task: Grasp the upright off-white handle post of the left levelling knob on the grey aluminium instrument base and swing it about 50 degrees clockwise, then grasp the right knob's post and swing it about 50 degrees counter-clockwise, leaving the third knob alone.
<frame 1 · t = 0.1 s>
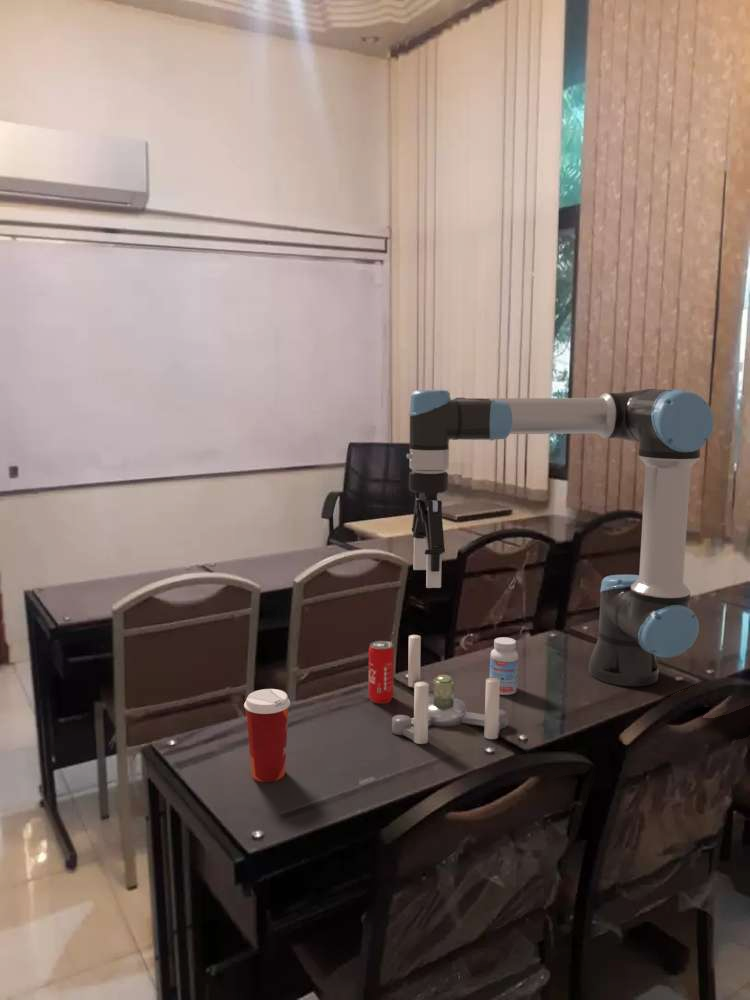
hand: (426, 578, 154), 28 cm above the table, fingers open, 13 cm apart
knob 2: (495, 702, 150), point 6 cm above the table, hinge at 0.0°
knob near arm: (423, 665, 168), point 6 cm above the table, hinge at 0.0°
levelling base: (443, 716, 157), on the table
pill bottle: (503, 691, 170), on the table
beverage can: (380, 700, 165), on the table
paper cup: (268, 775, 134), on the table
knob 1: (410, 707, 147), point 6 cm above the table, hinge at 0.0°
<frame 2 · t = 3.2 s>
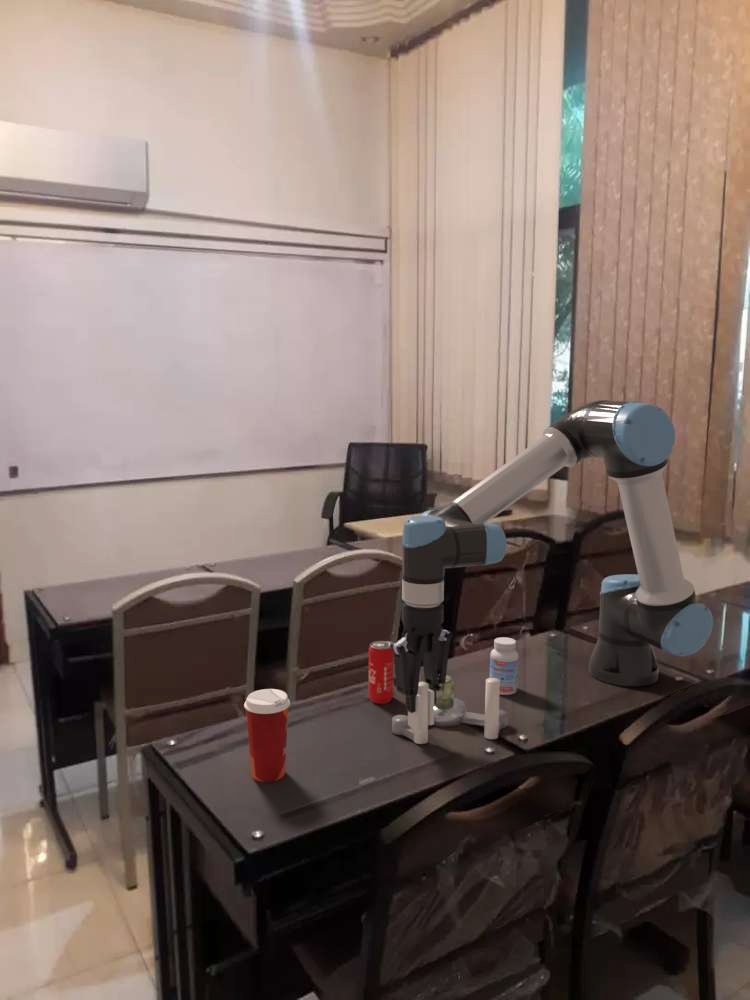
hand: (420, 724, 145), 4 cm above the table, fingers closed on knob 1, 3 cm apart
knob 1: (410, 707, 147), point 6 cm above the table, hinge at -0.1°, touching gripper
everything else where it was.
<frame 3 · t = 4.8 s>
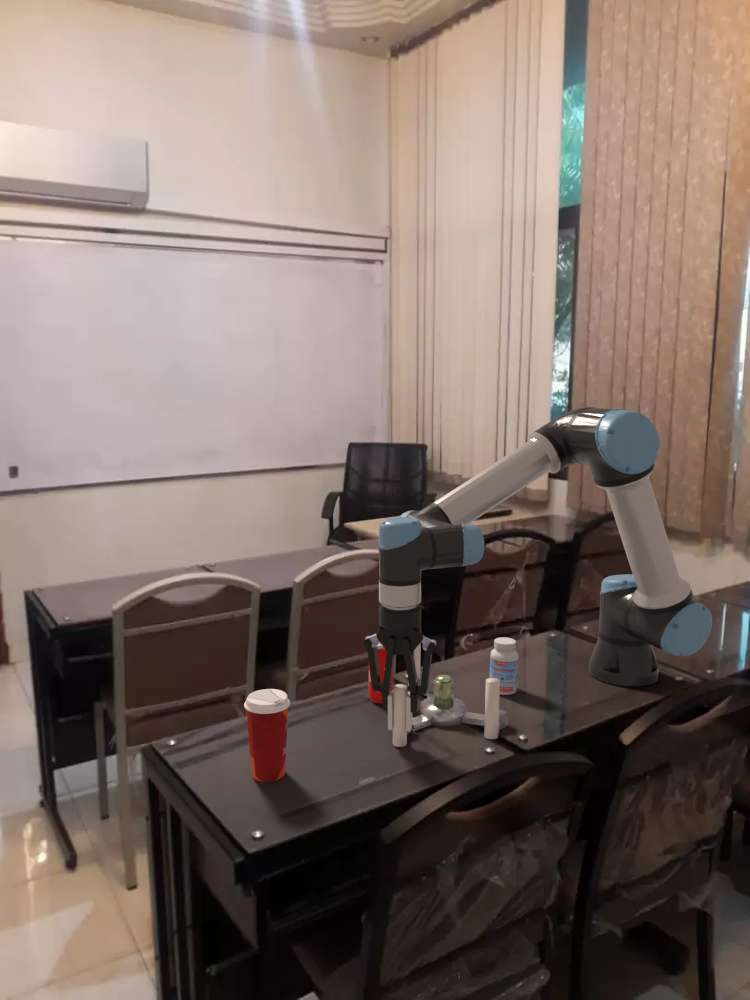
hand: (400, 727, 144), 3 cm above the table, fingers closed on knob 1, 3 cm apart
knob 1: (400, 708, 147), point 6 cm above the table, hinge at -43.7°, touching gripper
everything else where it was.
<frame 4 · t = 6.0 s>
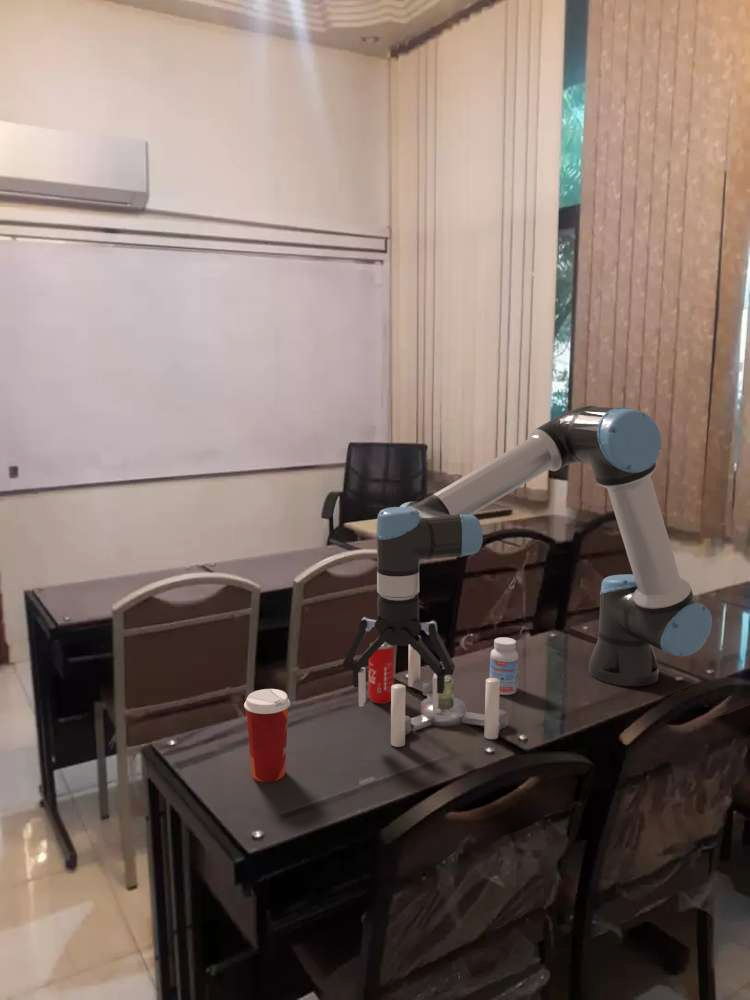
hand: (398, 706, 144), 7 cm above the table, fingers open, 13 cm apart
knob 1: (400, 708, 147), point 6 cm above the table, hinge at -47.4°
everything else where it was.
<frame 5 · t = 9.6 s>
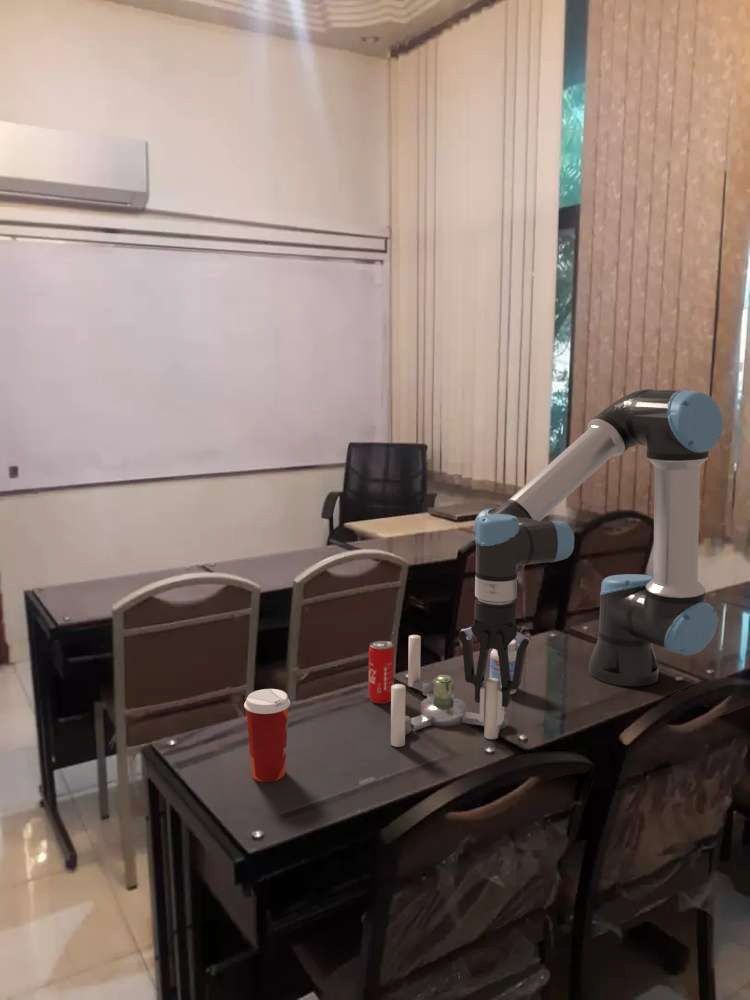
hand: (491, 720, 147), 4 cm above the table, fingers closed on knob 2, 3 cm apart
knob 2: (495, 702, 150), point 6 cm above the table, hinge at 0.0°, touching gripper
everything else where it was.
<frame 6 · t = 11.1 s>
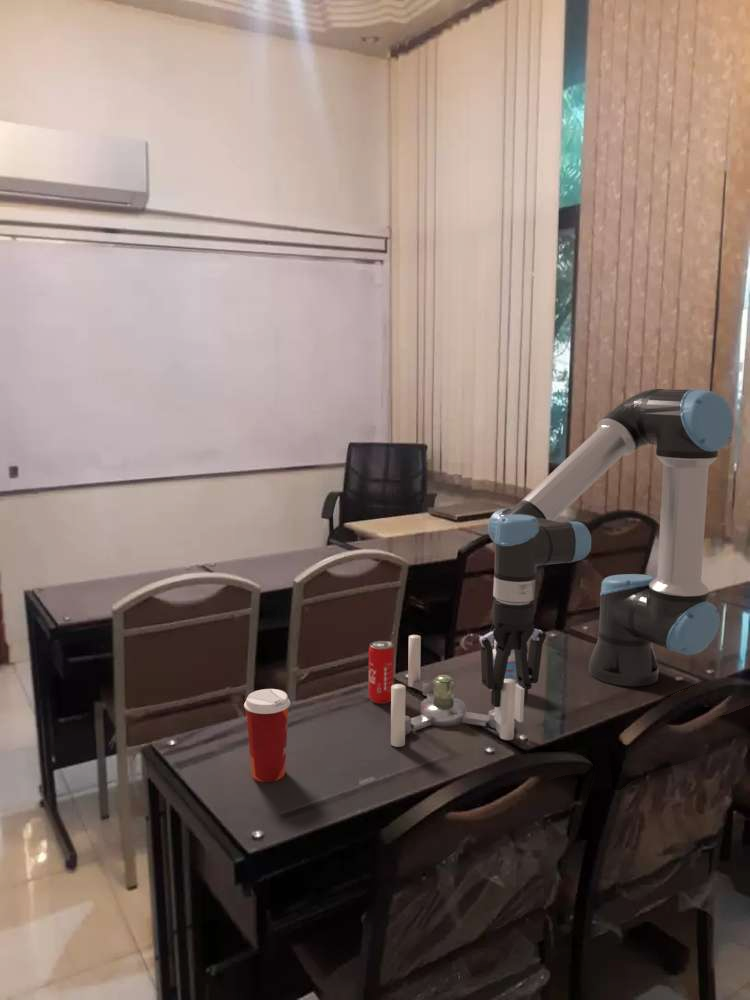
hand: (508, 720, 147), 4 cm above the table, fingers open, 3 cm apart
knob 2: (502, 702, 149), point 6 cm above the table, hinge at 30.7°, touching gripper
everything else where it was.
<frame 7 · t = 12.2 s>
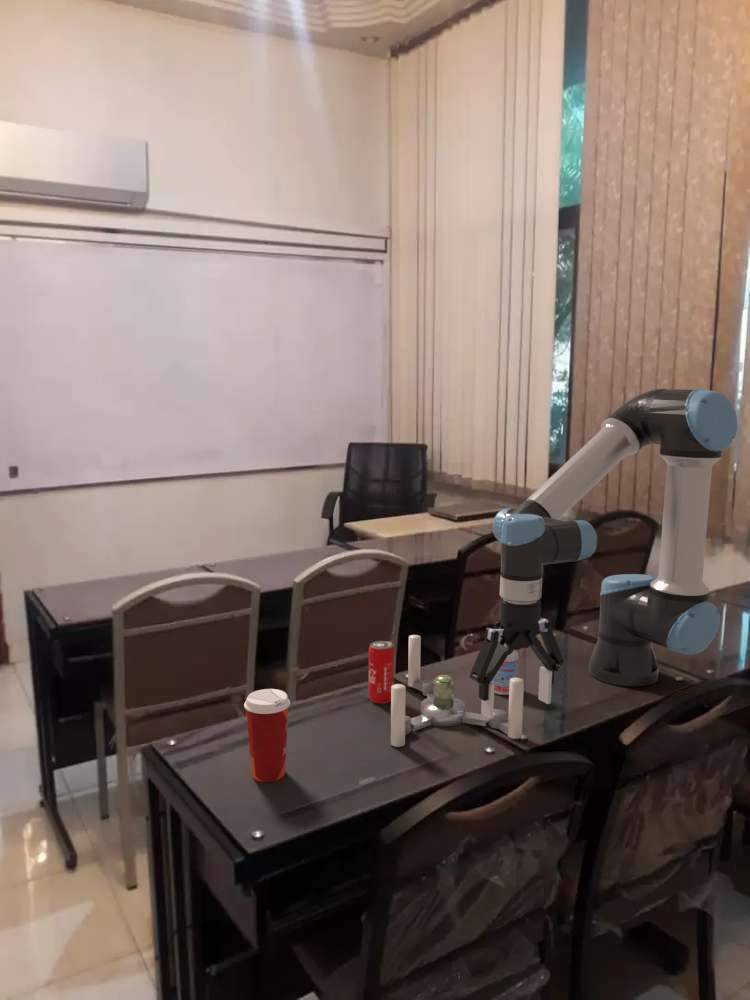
hand: (516, 708, 147), 6 cm above the table, fingers open, 13 cm apart
knob 2: (506, 702, 150), point 6 cm above the table, hinge at 48.3°
everything else where it was.
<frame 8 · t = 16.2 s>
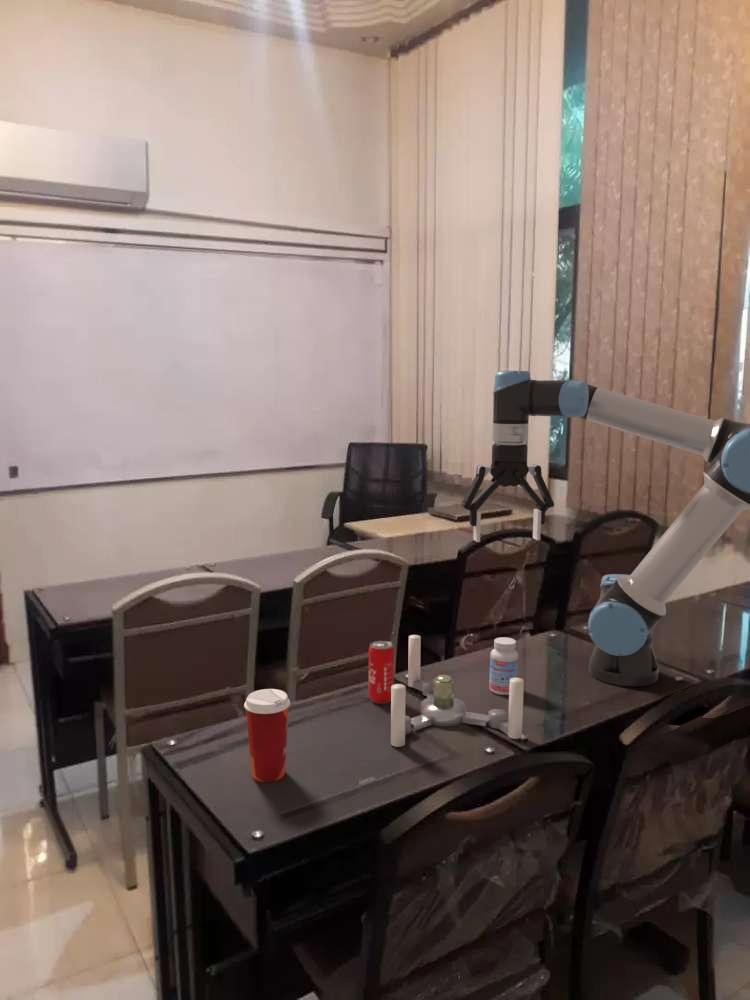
hand: (506, 540, 172), 32 cm above the table, fingers open, 13 cm apart
nothing on the table moved.
at the end: knob 1 at -47° (first picture: +0°); knob 2 at +48° (first picture: +0°); knob near arm at +0° (first picture: +0°) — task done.
